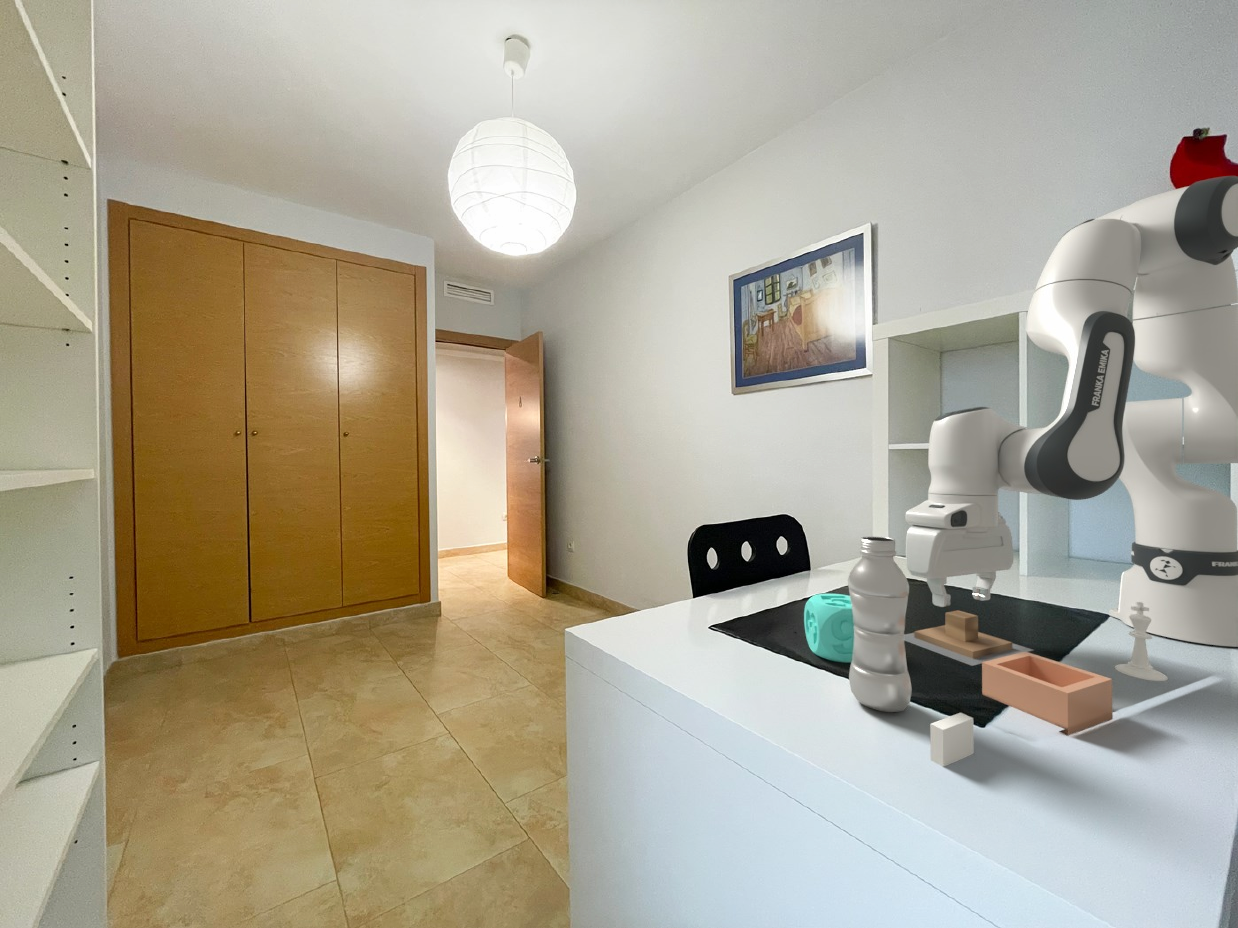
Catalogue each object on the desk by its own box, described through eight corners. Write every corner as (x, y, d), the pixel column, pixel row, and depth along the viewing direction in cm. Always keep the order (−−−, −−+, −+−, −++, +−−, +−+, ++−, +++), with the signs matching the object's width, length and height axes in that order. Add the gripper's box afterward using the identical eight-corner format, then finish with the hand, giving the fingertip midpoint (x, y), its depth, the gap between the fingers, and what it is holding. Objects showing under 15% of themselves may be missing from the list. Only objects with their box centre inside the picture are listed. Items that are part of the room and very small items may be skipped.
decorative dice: (855, 643, 77) (854, 593, 77) (877, 664, 69) (876, 608, 69) (804, 641, 78) (803, 592, 78) (819, 662, 70) (819, 607, 70)
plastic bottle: (889, 725, 53) (888, 545, 53) (836, 699, 59) (835, 537, 59) (924, 711, 56) (922, 540, 56) (870, 687, 62) (869, 533, 62)
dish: (1025, 686, 62) (1025, 651, 62) (1112, 718, 54) (1112, 678, 54) (982, 698, 59) (982, 662, 59) (1067, 735, 51) (1067, 693, 51)
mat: (953, 628, 83) (953, 624, 83) (1034, 653, 72) (1034, 649, 72) (894, 640, 78) (894, 636, 78) (972, 669, 67) (972, 665, 67)
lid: (952, 629, 81) (951, 602, 81) (1012, 648, 72) (1012, 619, 72) (914, 637, 78) (914, 609, 78) (972, 658, 69) (972, 627, 69)
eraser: (930, 760, 47) (930, 723, 47) (960, 747, 49) (960, 712, 49) (943, 767, 46) (943, 729, 46) (973, 754, 48) (973, 718, 48)
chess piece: (1180, 687, 61) (1179, 608, 61) (1134, 684, 62) (1133, 607, 62) (1146, 670, 66) (1145, 598, 66) (1104, 667, 67) (1103, 596, 67)
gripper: (982, 509, 81) (982, 591, 81) (897, 513, 73) (897, 603, 73) (1026, 512, 75) (1026, 601, 75) (938, 517, 68) (938, 615, 67)
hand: (961, 602), depth 74 cm, fingers open, 8 cm apart
